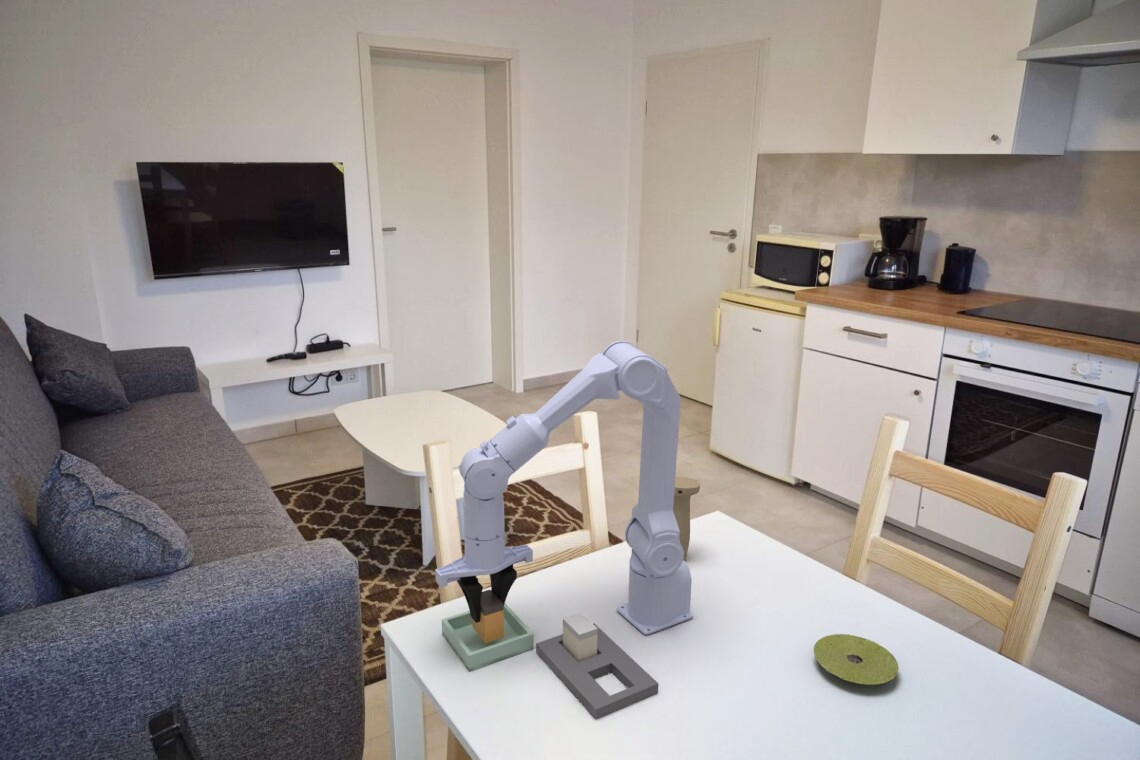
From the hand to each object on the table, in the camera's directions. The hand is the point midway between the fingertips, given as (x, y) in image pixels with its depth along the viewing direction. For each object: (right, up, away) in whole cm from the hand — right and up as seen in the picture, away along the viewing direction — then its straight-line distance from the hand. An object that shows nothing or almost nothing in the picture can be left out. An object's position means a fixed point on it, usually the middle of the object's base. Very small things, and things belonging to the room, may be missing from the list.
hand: (486, 615), depth 110 cm
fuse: (+14, -5, -2) cm, 15 cm away
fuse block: (+16, -6, -5) cm, 18 cm away
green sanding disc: (+52, -6, -4) cm, 53 cm away
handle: (+32, +2, +25) cm, 41 cm away
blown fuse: (0, -3, 0) cm, 3 cm away
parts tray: (0, -4, +1) cm, 4 cm away
